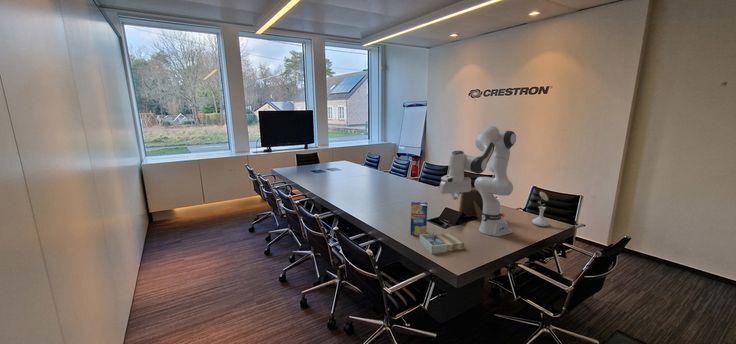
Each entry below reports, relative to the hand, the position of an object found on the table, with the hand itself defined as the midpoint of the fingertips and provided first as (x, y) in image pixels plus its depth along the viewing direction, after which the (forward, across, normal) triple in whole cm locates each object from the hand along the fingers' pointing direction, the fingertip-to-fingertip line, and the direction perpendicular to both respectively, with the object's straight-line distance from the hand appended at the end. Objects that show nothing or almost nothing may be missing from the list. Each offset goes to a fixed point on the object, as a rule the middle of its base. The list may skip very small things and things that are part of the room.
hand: (454, 199), depth 186 cm
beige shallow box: (+31, +1, -3) cm, 31 cm away
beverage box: (+31, +12, -25) cm, 42 cm away
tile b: (+28, +9, +1) cm, 29 cm away
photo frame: (+31, -44, -41) cm, 68 cm away
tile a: (+28, +13, -7) cm, 32 cm away
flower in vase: (+31, -83, -15) cm, 90 cm away
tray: (+31, +12, -3) cm, 34 cm away
